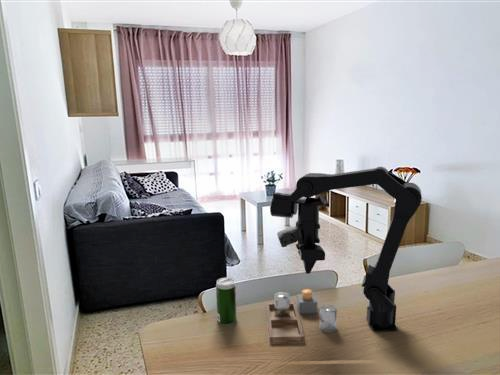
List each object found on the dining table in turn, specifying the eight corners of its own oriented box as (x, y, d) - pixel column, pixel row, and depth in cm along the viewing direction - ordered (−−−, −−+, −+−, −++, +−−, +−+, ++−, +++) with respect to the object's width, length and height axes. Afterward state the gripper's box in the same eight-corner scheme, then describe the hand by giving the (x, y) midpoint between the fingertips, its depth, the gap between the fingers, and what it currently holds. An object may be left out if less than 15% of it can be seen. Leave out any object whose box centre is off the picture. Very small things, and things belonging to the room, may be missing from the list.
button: (311, 295, 113) (311, 289, 112) (313, 300, 110) (313, 293, 109) (301, 295, 113) (301, 289, 112) (302, 300, 110) (302, 294, 109)
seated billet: (289, 311, 111) (289, 291, 110) (290, 319, 107) (290, 299, 105) (273, 311, 111) (273, 292, 110) (274, 319, 107) (274, 299, 105)
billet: (334, 325, 105) (334, 304, 103) (337, 334, 100) (338, 313, 99) (317, 325, 105) (318, 305, 103) (321, 334, 100) (321, 313, 99)
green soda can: (223, 329, 103) (222, 287, 101) (213, 320, 108) (212, 280, 105) (240, 322, 106) (239, 282, 104) (230, 314, 111) (229, 275, 108)
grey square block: (314, 306, 115) (314, 293, 114) (317, 315, 110) (317, 302, 109) (297, 306, 115) (297, 294, 114) (299, 315, 110) (299, 302, 109)
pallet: (295, 308, 114) (296, 301, 113) (305, 345, 96) (305, 337, 96) (265, 308, 114) (265, 302, 113) (268, 345, 96) (268, 338, 95)
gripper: (276, 211, 116) (276, 259, 119) (282, 230, 97) (282, 287, 101) (313, 210, 116) (312, 259, 119) (326, 229, 97) (324, 286, 101)
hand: (307, 272), depth 110 cm, fingers closed
